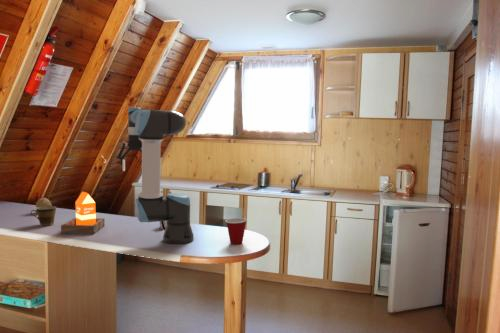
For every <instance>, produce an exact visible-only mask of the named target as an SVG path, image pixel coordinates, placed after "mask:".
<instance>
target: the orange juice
mask: <svg viewBox="0 0 500 333" xmlns="http://www.w3.org/2000/svg"><path fill="white" fill-rule="evenodd" d="M96 208H97V207H96V201H95V200H94V198H93V197H92V196H91V195H90V194H89V193H88V192H86V191H81V192H80V194H79V196H78V198H77V199H76V200H75V218H76V225H93V224H94V223H96V218H97V213H96V210H97V209H96Z"/></svg>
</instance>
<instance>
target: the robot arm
mask: <svg viewBox="0 0 500 333" xmlns="http://www.w3.org/2000/svg"><path fill="white" fill-rule="evenodd" d="M186 125H187V120H186V117H185V115H184V114H182V113H181V112H178V111H175V110H163V109H160V110H159V109H142V108H141V107H129V108H128V109H127V126H128V128H127V130H128V132H127V134H128V136H127V137H128V142H122V147H121V149H120V151H119V153H118V155H117V157H116V159H117V160H120V165H121V167H122V172H125V171H126V160H125V158H126V157H127V155H129V153H130V152H132V151H133V152H134V151H139V152H140V153H141V191H140V193H138V197H137V198H135V199H134V206H135V214H136V217H137V220H138V222H140V223H156V222H159V221H167V226H166V228H164V233H163V236H162V241H163V242H164V243H167V244H173V245H179V244H181V245H182V244H188V243H190V242H193V241H194V239H195V238H194V232H193V229H192V226H191V198H190V197H189V196H188V195H185V194H181V193H167V194H166V196H164V194H163V193H162V192H161V145H162V142H163V141H164V140H165V136H173V135H177V134H180V133H181V132H182V131H184V130H185V128H186ZM126 147H128V148H127V149H126ZM125 149H126V151H125ZM124 151H125V152H124Z"/></svg>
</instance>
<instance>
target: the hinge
mask: <svg viewBox="0 0 500 333" xmlns="http://www.w3.org/2000/svg"><path fill="white" fill-rule="evenodd" d="M158 222H159V225H160V229H161V230H163V229H166V226H167V221H158Z"/></svg>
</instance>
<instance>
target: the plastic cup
mask: <svg viewBox="0 0 500 333" xmlns="http://www.w3.org/2000/svg"><path fill="white" fill-rule="evenodd" d="M247 220H248V219H247V218H245V217H244V218H243V217H234V218H228V219H226V220H224V222H225V223H226V227H227V231H228V236H229V237H228V238H229V242H230V244H231V245H237V246H238V245H242V244H243V241H244V237H245V230H246V226H247V225H246V224H247Z"/></svg>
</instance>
